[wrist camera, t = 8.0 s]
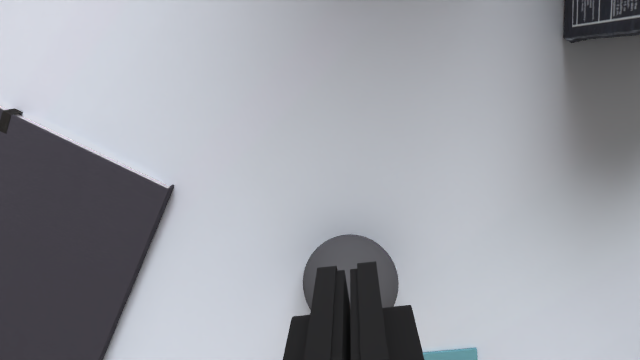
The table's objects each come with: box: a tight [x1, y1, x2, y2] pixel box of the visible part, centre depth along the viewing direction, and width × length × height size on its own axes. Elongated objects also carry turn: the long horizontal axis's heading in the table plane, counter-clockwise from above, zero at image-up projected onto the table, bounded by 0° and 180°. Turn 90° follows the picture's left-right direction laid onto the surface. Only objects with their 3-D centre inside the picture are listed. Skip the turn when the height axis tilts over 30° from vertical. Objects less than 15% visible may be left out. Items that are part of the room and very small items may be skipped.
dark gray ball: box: [303, 235, 398, 309], centre depth 25 cm, size 6×6×6 cm
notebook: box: [0, 106, 174, 360], centre depth 29 cm, size 13×2×21 cm
